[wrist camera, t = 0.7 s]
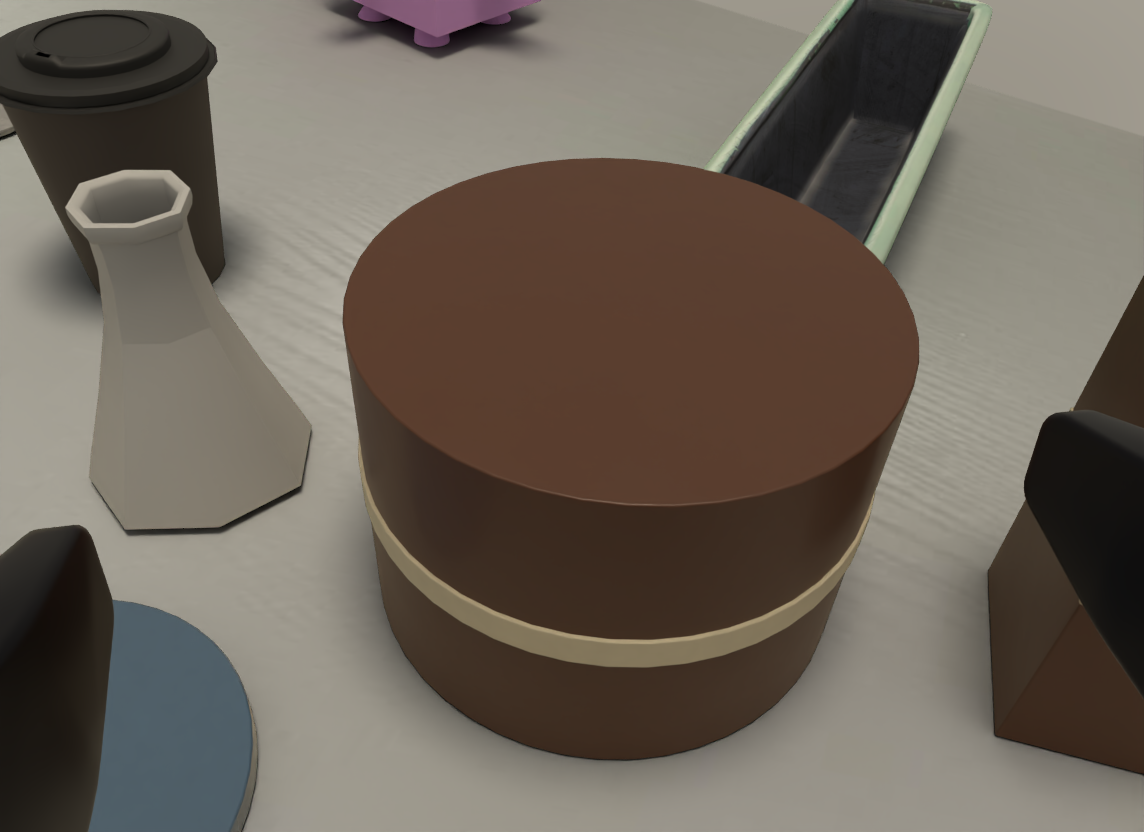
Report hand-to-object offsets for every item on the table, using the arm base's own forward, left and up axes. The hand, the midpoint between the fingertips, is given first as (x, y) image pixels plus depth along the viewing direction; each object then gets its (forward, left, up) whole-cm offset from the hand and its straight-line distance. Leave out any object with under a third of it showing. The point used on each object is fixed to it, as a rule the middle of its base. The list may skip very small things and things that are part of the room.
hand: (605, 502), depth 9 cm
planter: (+27, -22, -18) cm, 39 cm away
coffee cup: (+32, +7, -18) cm, 38 cm away
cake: (+12, -6, -17) cm, 22 cm away
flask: (+20, +6, -18) cm, 28 cm away
